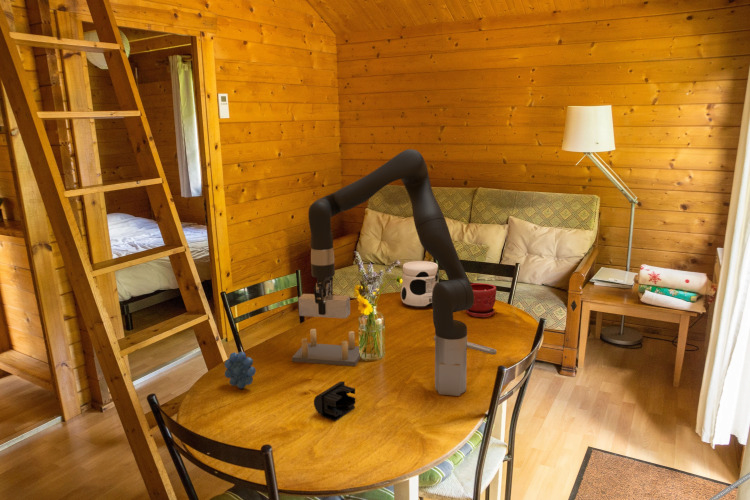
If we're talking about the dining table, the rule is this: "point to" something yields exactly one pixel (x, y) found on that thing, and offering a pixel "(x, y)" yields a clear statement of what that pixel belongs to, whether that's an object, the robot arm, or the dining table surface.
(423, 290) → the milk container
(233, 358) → the grapes
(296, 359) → the peg rack
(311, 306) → the steel bar
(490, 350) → the adjustable wrench
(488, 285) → the plant pot
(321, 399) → the end cap
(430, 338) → the dining table surface
